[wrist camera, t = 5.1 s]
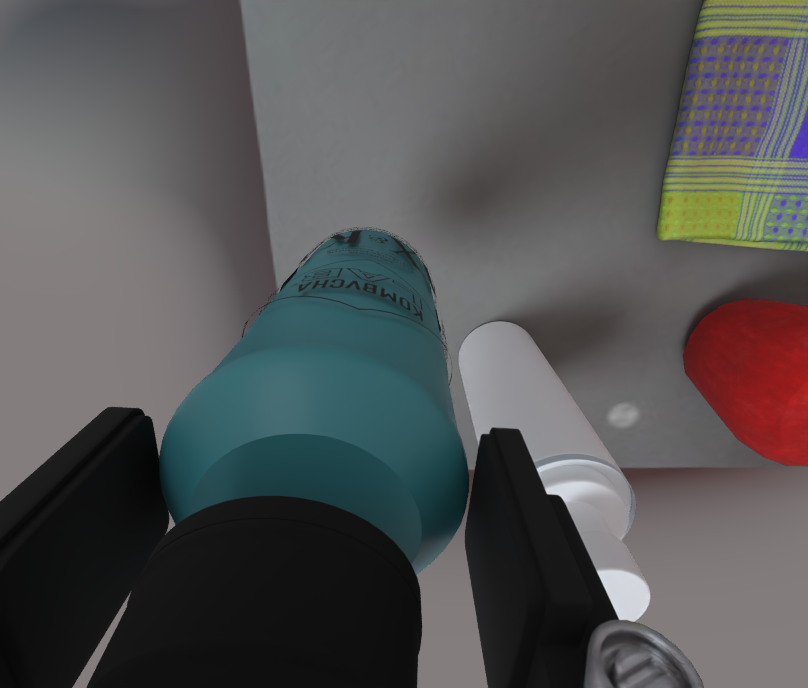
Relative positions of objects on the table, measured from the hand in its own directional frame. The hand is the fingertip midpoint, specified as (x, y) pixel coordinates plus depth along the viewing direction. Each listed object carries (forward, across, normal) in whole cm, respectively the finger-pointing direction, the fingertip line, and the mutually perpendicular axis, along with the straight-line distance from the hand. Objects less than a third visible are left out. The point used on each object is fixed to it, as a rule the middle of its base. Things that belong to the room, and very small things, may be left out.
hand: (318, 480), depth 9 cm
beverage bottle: (+15, 0, 0) cm, 15 cm away
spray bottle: (+28, -11, +10) cm, 32 cm away
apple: (+28, -30, +6) cm, 41 cm away
